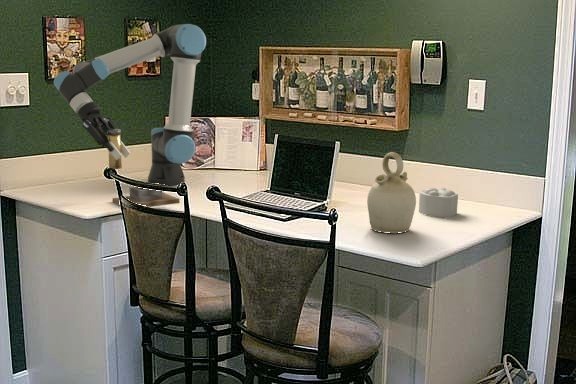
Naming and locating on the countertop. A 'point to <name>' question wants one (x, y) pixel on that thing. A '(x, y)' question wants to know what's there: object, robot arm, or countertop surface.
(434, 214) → the lumpy-topped squat cylinder
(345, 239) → the countertop surface
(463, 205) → the countertop surface
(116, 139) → the gold cylindrical piece
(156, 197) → the hitch socket board
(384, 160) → the jug
